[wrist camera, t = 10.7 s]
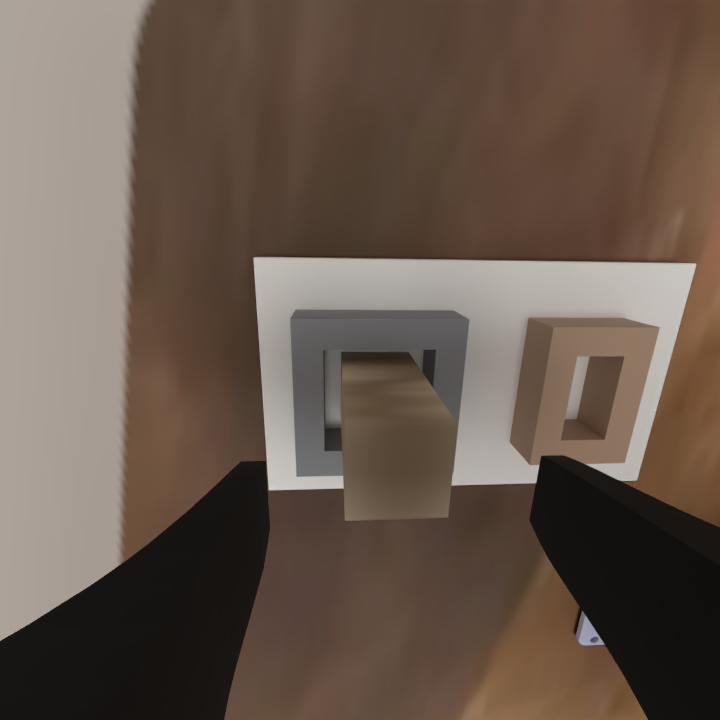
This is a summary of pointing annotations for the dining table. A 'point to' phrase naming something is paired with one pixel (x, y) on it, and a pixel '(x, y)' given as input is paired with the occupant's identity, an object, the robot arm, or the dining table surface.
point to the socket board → (472, 357)
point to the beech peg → (393, 439)
